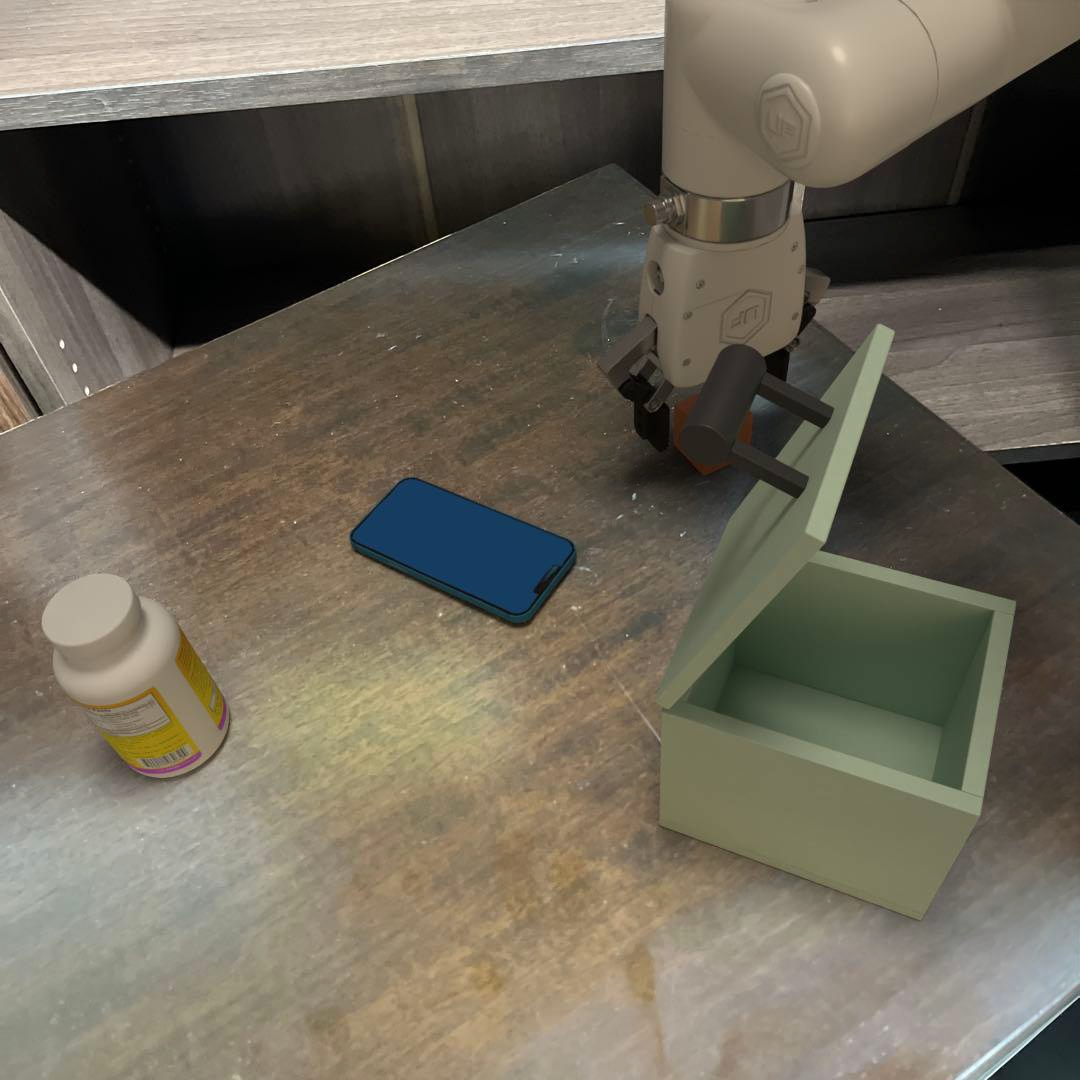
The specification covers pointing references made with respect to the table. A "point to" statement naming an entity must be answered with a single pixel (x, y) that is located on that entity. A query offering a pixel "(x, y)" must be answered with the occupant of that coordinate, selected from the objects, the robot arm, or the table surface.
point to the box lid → (768, 491)
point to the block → (680, 417)
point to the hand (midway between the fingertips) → (710, 413)
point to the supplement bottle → (134, 675)
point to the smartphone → (465, 548)
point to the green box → (844, 731)
